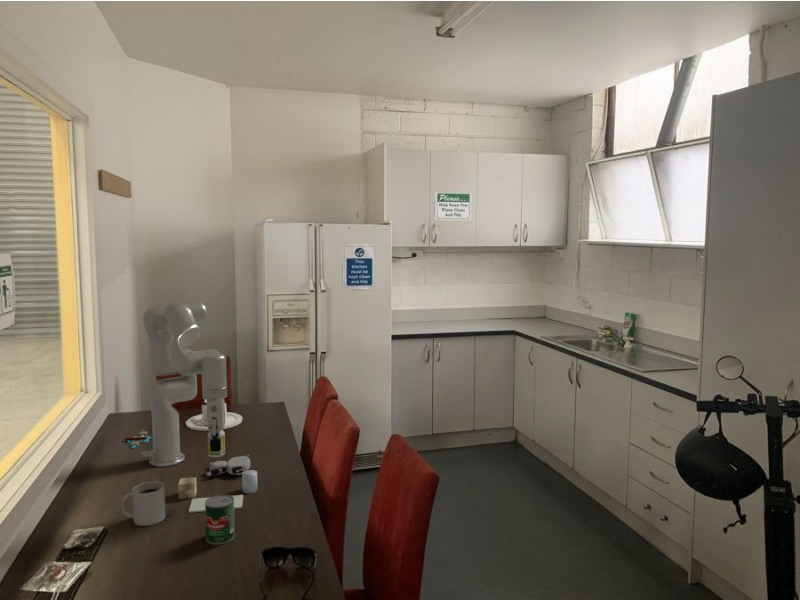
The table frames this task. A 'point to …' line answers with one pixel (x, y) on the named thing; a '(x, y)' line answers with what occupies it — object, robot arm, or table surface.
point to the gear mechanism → (142, 437)
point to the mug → (147, 503)
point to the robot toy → (229, 466)
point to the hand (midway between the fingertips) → (216, 447)
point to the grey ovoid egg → (249, 481)
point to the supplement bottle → (222, 452)
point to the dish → (201, 420)
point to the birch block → (187, 488)
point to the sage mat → (199, 503)
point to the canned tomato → (219, 519)
